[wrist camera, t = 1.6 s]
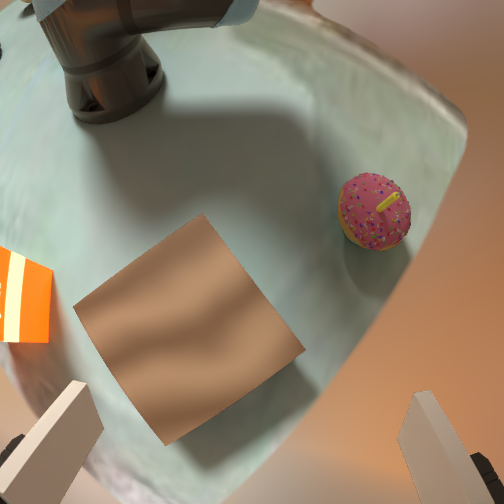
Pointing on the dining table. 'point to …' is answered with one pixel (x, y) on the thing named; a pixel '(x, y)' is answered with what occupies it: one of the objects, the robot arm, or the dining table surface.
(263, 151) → the dining table surface
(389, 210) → the cupcake
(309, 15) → the dining table surface
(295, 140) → the dining table surface
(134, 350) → the walnut riser
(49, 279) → the orange juice
